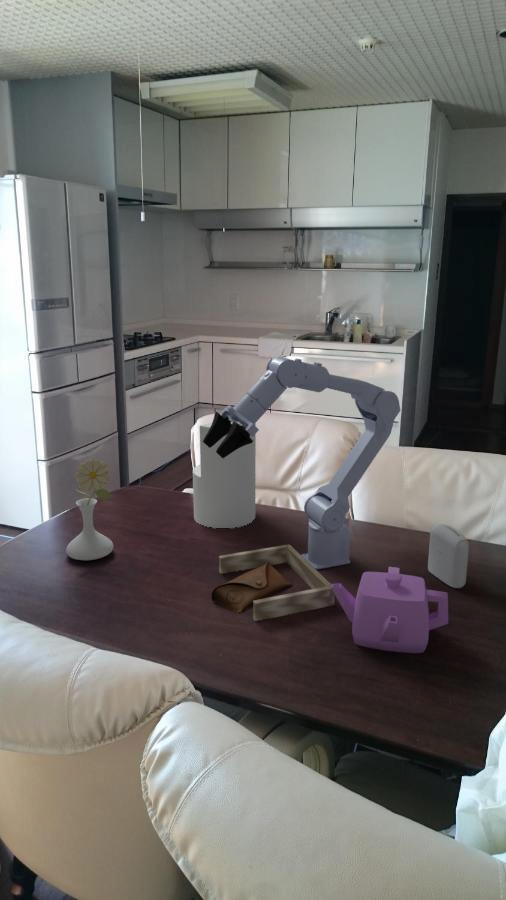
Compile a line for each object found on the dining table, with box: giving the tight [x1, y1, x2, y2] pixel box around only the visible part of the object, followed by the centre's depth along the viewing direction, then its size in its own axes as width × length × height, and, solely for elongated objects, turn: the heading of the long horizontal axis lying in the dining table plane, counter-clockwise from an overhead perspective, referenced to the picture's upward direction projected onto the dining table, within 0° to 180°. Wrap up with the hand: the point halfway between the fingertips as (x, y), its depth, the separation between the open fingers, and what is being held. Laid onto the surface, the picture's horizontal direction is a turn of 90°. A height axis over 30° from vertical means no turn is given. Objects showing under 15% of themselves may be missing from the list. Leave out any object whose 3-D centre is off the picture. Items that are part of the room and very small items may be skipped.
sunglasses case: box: [211, 562, 294, 613], centre depth 140 cm, size 18×7×7 cm
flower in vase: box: [65, 458, 115, 561], centre depth 154 cm, size 13×11×25 cm
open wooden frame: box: [218, 544, 336, 622], centre depth 141 cm, size 18×23×4 cm
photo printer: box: [427, 523, 470, 589], centre depth 144 cm, size 10×4×12 cm, turn 20°
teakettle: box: [331, 566, 449, 654], centre depth 123 cm, size 17×17×12 cm
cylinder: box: [192, 422, 257, 529], centre depth 177 cm, size 17×17×28 cm
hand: (212, 449), depth 136 cm, fingers open, 7 cm apart
